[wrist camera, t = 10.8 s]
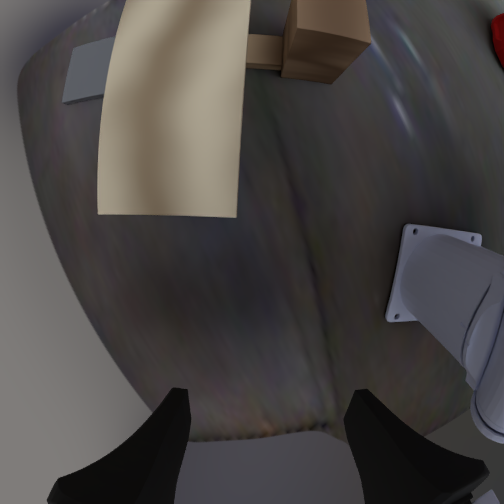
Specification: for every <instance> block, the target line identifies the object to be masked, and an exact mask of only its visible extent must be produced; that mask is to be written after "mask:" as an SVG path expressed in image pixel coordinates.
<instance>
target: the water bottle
mask: <svg viewBox="0 0 504 504" xmlns="http://www.w3.org/2000/svg"><path fill="white" fill-rule="evenodd" d="M491 29H492V33H493V44H494V48H495V52H496V54H497V56H498V58H499V60H500V62H501V64H502V66H503V67H504V13H503V14H500V15H497V16H496V17H495V18H494V19H493V20H492V23H491Z"/></svg>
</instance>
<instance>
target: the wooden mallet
mask: <svg viewBox="0 0 504 504" xmlns="http://www.w3.org/2000/svg"><path fill="white" fill-rule="evenodd" d="M370 44H371V37H370V28H369V20H368V13H367V6H366V0H291V4H290V8H289V12H288V16H287V20H286V24H285V28H284V32H283V36H271V35H256V34H248V45H247V58H246V68H253V69H269V70H281V77H282V78H291V79H300V80H307V81H314V82H321V83H327V84H332V83H333V82H334V81H335V80H336V79H337V78H338V77H339V76H340V75H341V74H342V73H343V72H344V71H345V69H346V68H347V67H348V66H349V65H350V64H351V63H352V62H353V61H354V60H355V59H356V58H357V57H358V56H359V55H360V54H361V53H362V52H363V51H364V50H365V49H366V48H367V47H368V46H369V45H370Z"/></svg>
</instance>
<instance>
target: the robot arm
mask: <svg viewBox="0 0 504 504" xmlns="http://www.w3.org/2000/svg"><path fill="white" fill-rule="evenodd" d="M414 229H416V231H415V233H414V234H413V230H414ZM471 237H472V239H471ZM481 242H482V236H481V235H480V234H478V233H472V232H466V231H459V230H453V229H446V228H439V227H431V226H424V225H416V224H406V225H405V226H404V228H403V233H402V239H401V245H400V251H399V257H398V262H397V267H396V272H395V277H394V282H393V286H392V290H391V295H390V299H389V303H388V307H387V311H386V314H385V318H386V320H387V321H388V322H401V321H415V320H418V321H419V322H420V323H421V324H422V325H423V326H424V327H425V328H426V329H427V330H428V331H429V332H430V333H431V334H432V335H433V336H434V337H435V338H436V339H437V340H438V341H439V342H440V343H441V344H442V345H443V346H444V347H445V348H446V349H447V350H448V351H449V352H450V353H451V354H452V355H453V356H454V357H455V358H456V359H457V361H458V362H459V363H460V364H461V365H462V366H463V367H464V368H465V369H466V371H467V377H466V382H467V383H468V384H469V385H470V386H471V388H472V389H473V390H474V393H473V395H472V399H471V415H472V418H473V421H474V423H475V425H476V427H477V428H478V429H479V430H480V432H481V433H482V434H484V435H485V436H486V437H487V438H489V439H491V440H493V441H495V442H499V443H504V256H503V255H500V254H498V253H496V252H493V251H491V250H489V249H486V248H484V247H482V246H481ZM396 314H398V315H397V316H396V317H395V315H396ZM190 425H191V413H190V405H189V397H188V389H181V388H174V387H173V388H172V389H171V390H170V391H169V393H168V394H167V396H166V397H165V399H164V400H163V401H162V402H161V404H160V405H159V406H158V408H157V409H156V410H155V411H154V412H153V413H152V415H151V416H150V417H149V418H148V419H147V420H146V422H145V423H144V424H143V425H142V426H141V427H140V428H139V429H138V430H137V431H136V432H135V433H134V434H133V435H132V436H131V437H129V438H128V439H127V440H126V441H125V442H123V443H122V444H121V445H120V446H119V447H117V448H116V449H114V450H113V451H112V452H110V453H109V454H107V455H106V456H104V457H103V458H101V459H100V460H98V461H96V462H94V463H92V464H90V465H89V466H87V467H85V468H83V469H81V470H78V471H76V472H74V473H71V474H68V475H66V476H63V477H60V478H58V479H57V481H56V482H55V484H54V486H53V488H52V490H51V492H50V494H49V496H48V498H47V502H48V504H174V498H175V491H176V484H177V479H178V475H179V472H180V468H181V464H182V460H183V457H184V453H185V450H186V446H187V442H188V439H189V432H190ZM344 425H345V430H346V435H347V439H348V442H349V445H350V448H351V451H352V454H353V457H354V460H355V463H356V466H357V468H358V471H359V475H360V478H361V482H362V488H363V493H364V500H365V504H500V503H499V501H498V499H497V497H496V495H495V494H494V492H493V490H490V491H488V492H487V493H486V494H484V495H483V496H481V497H480V498H478V499H477V500H476V501H474V502H473V503H471V501H470V499H472V498H473V496H472V494H471V492H472V491H473V490H474V489H475V488H476V487H478V486H479V485H480V484H481V483H482V482H483V481H484V480H485V479H486V478H487V477H488V476H489V473H490V472H489V470H488V468H487V467H486V465H485V464H484V462H483V461H482V460H478V459H474V458H469V457H466V456H463V455H459V454H457V453H454V452H451V451H449V450H447V449H444V448H442V447H440V446H438V445H436V444H435V443H433V442H431V441H429V440H427V439H426V438H424V437H423V436H421V435H420V434H418V433H417V432H415V431H414V430H413V429H411V428H410V427H409V426H408V425H406V424H405V423H404V422H403V421H401V420H400V419H399V418H398V417H397V416H396V415H394V414H393V413H392V412H391V411H390V410H389V409H388V408H387V407H386V406H385V405H384V404H383V403H382V402H381V401H379V400H378V399H377V398H376V397H375V396H374V395H373V394H372V393H371V392H370V391H369V390H368V389H361V390H355V392H354V394H353V397H352V399H351V402H350V404H349V407H348V409H347V412H346V414H345V417H344Z"/></svg>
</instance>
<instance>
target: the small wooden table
mask: <svg viewBox="0 0 504 504" xmlns="http://www.w3.org/2000/svg"><path fill="white" fill-rule="evenodd" d="M250 11H251V0H127V1H126V4H125V7H124V10H123V13H122V16H121V20H120V23H119V27H118V30H117V34H116V38H115V42H114V46H113V51H112V55H111V60H110V65H109V70H108V75H107V81H106V87H105V93H104V100H103V108H102V116H101V126H100V138H99V153H98V214H129V215H177V216H207V217H230V218H236V216H237V203H238V183H239V165H240V147H241V130H242V115H243V99H244V85H245V71H246V58H247V45H248V32H249V20H250Z"/></svg>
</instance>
